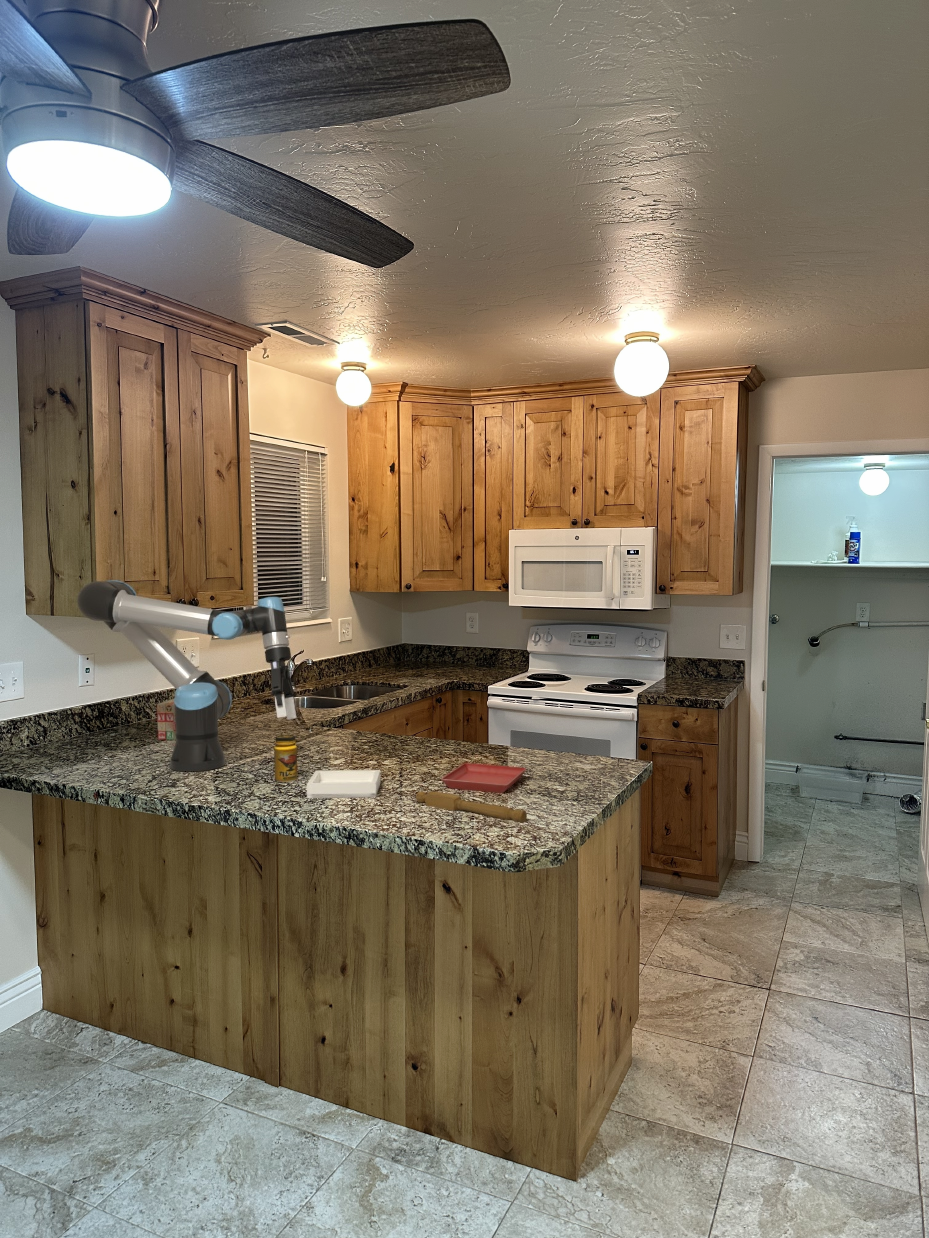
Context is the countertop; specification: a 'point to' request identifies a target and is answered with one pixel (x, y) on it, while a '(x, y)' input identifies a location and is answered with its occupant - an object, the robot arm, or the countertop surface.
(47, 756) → the countertop surface
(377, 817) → the countertop surface
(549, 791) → the countertop surface
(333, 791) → the tray
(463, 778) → the plant saucer
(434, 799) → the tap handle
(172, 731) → the stack of blocks
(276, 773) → the condiment
